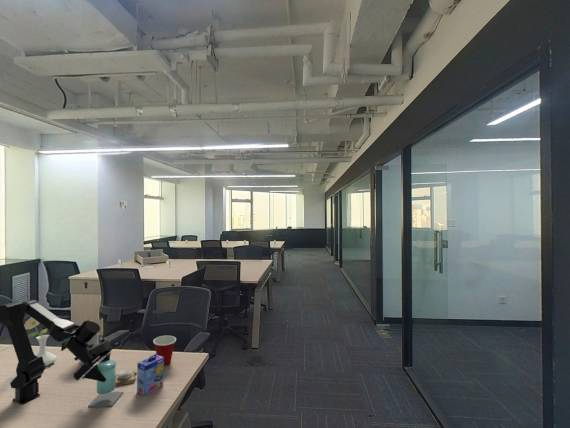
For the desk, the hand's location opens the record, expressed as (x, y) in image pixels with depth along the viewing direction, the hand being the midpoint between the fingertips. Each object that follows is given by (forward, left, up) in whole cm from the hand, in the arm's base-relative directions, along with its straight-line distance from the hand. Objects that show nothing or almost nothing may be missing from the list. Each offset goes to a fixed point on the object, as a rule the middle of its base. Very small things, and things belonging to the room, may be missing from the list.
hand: (109, 376), depth 123 cm
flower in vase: (+8, +58, -9) cm, 60 cm away
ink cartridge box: (+12, -9, -9) cm, 18 cm away
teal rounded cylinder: (-1, +1, -5) cm, 5 cm away
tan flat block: (+13, +7, -9) cm, 18 cm away
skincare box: (+20, +39, -9) cm, 45 cm away
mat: (-1, +1, -9) cm, 9 cm away
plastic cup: (+32, +2, -9) cm, 34 cm away
